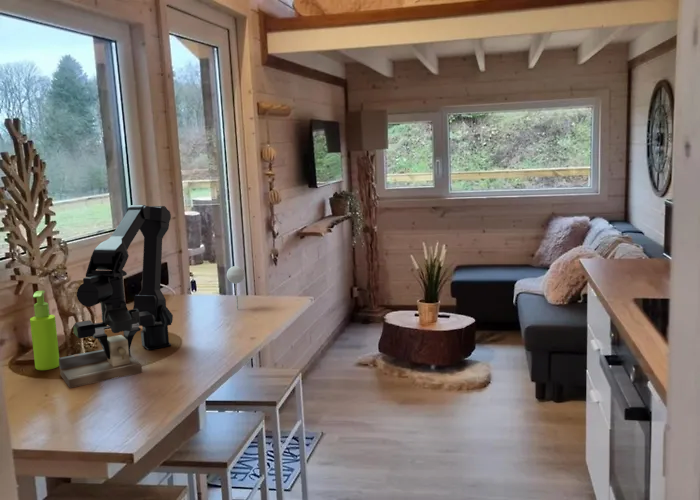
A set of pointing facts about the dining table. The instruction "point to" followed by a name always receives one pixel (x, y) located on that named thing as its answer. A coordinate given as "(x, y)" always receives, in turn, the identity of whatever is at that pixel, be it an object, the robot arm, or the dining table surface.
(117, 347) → the block
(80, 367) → the grey stepped stand
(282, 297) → the dining table surface
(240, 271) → the lollipop
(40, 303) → the soap dispenser
